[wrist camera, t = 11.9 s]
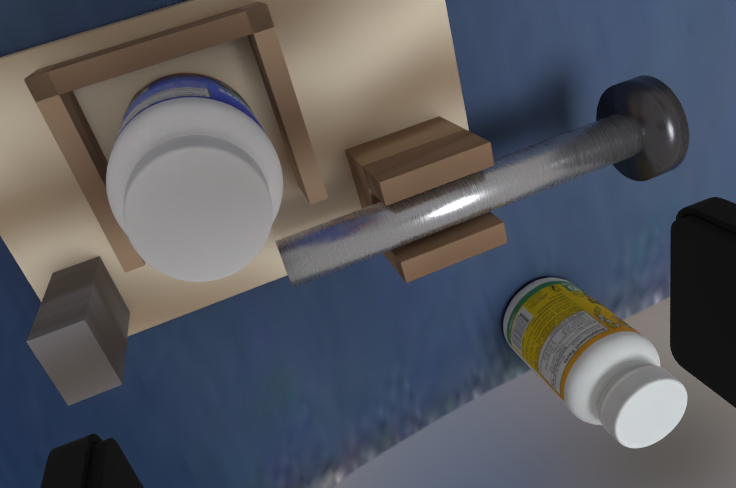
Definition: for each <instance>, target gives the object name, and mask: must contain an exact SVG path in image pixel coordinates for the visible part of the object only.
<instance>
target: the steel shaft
mask: <svg viewBox="0 0 736 488" xmlns="http://www.w3.org/2000/svg"><path fill="white" fill-rule="evenodd" d="M688 144H689V129H688V123H687V119H686V115H685V113H684V110H683V108H682V106H681V103H680V102H679V100H678V98H677V97H676V95H675V94H674V93H673V91H672V90H671V89H670V88H669V87H668V86H667V85H666V84H664V83H663V82H662V81H660V80H658V79H656V78H654V77H651V76H638V77H635V78H632V79H630V80H627V81H624V82H621V83H619V84H616V85H613V86H611V87H609V88H608V89H607V90H606V91H605V92H604V93H603V94H602V96H601V98H600V100H599V103H598V107H597V115H596V122H593V123H590V124H587V125H585V126H582V127H579V128H577V129H574V130H571V131H569V132H566V133H563V134H561V135H558V136H555V137H553V138H550V139H547V140H545V141H542V142H539V143H537V144H534V145H531V146H529V147H526V148H523V149H520V150H518V151H515V152H512V153H510V154H507V155H504V156H502V157H499V158H496V159H494V166H491V167H489V168H486V169H483V170H481V171H478V172H475V173H473V174H470V175H467V176H465V177H462V178H459V179H457V180H454V181H451V182H449V183H446V184H443V185H441V186H438V187H435V188H433V189H430V190H427V191H425V192H422V193H419V194H417V195H414V196H411V197H409V198H406V199H403V200H401V201H398V202H395V203H393V204H390V205H387V206H385V205H384V204H383V203H382V202H378V203H376V204H373V205H370V206H368V207H365V208H362V209H360V210H357V211H354V212H352V213H349V214H346V215H344V216H341V217H338V218H336V219H333V220H330V221H328V222H325V223H322V224H319V225H317V226H314V227H311V228H309V229H306V230H303V231H301V232H298V233H295V234H293V235H290V236H287V237H285V238H282V239H279V240H277V241H275V243H276V246H277V248H278V251H279V254H280V256H281V259H282V262H283V264H284V267H285V269H286V272H287V275H288V277H289V280H290V282H291V285H292V287H293V288H294V287H297V286H300V285H302V284H305V283H307V282H310V281H312V280H315V279H318V278H320V277H323V276H325V275H328V274H330V273H333V272H336V271H338V270H341V269H343V268H346V267H349V266H351V265H354V264H356V263H359V262H361V261H364V260H367V259H369V258H372V257H374V256H377V255H379V254H382V253H385V252H387V251H390V250H392V249H395V248H398V247H400V246H403V245H405V244H408V243H410V242H413V241H416V240H418V239H421V238H423V237H426V236H428V235H431V234H434V233H436V232H439V231H441V230H444V229H447V228H449V227H452V226H454V225H457V224H459V223H462V222H465V221H467V220H470V219H472V218H475V217H477V216H480V215H483V214H485V213H488V212H490V211H493V210H496V209H498V208H501V207H503V206H506V205H508V204H511V203H514V202H516V201H519V200H521V199H524V198H526V197H529V196H532V195H534V194H537V193H539V192H542V191H545V190H547V189H550V188H552V187H555V186H557V185H560V184H563V183H565V182H568V181H570V180H573V179H575V178H578V177H581V176H583V175H586V174H588V173H591V172H594V171H596V170H599V169H601V168H604V167H606V166H609V165H612V164H613V165H614V167H615V168H616V169H617V170H618V171H619V172H620V173H622V174H623V175H624V176H626V177H628V178H630V179H632V180H635V181H646V180H649V179H651V178H654V177H656V176H659V175H661V174H664V173H666V172H669V171H671V170H673V169H675V168H676V167H678V166H679V165H680V164H681V162H682V161H683V159H684V157H685V155H686V153H687V149H688Z"/></svg>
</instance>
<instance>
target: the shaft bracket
mask: <svg viewBox="0 0 736 488" xmlns="http://www.w3.org/2000/svg"><path fill="white" fill-rule="evenodd" d="M176 73H197V74H203V75H207V76H211V77H213V78H216V79H218V80H220V81H222V82H224V83H225V84H227V85H228V86H230V87H231V88H233V89H234V90H235V91H236V92H237V93H238V94H239V95H240V96H241V97H242V98H243V99H244V100H245V101H246V102H247V104H248V105H249V107H250V108H251V110H252V112H253V113H254V115H255V116H256V118H257V120H258V121H259V123H260V124H261V126H262V128H263V129H264V131H265V133H266V134H267V136H268V138H269V139H270V141H271V143H272V145H273V147H274V148H275V150H276V153H277V155H278V158H279V161H280V164H281V168H282V175H283V194H282V200H281V204H280V208H279V211H278V213H277V216H276V218H275V220H274V222H273V224H272V227H271V231H270V234H269V237H268V239H267V241H266V243H265V245H264V247H263V248H262V250H261V251H260V253H259V254H258V255H257V256H256V257H255V258H254V259H253V260H252V261H251V262H250V263H249V264H248V265H247V266H245V267H244V268H242V269H241V270H239V271H238V272H236V273H234V274H232V275H230V276H227V277H224V278H221V279H217V280H213V281H205V282H192V281H184V280H179V279H175V278H172V277H169V276H167V275H164V274H163V273H161V272H159V271H157V270H156V269H154V268H152V267H151V266H150V265H149V264H148V263H146V262H145V261H144V260H143V259H142V258H141V257H140V256H139V254H138V253H137V252H136V250H135V249H134V248H133V246H132V244H131V242H130V240H129V238H128V236H127V235H126V234H125V232H124V231H123V230H122V228H121V227H120V225H119V224H118V222H117V220H116V219H115V217H114V215H113V212H112V210H111V207H110V204H109V200H108V196H107V190H106V173H107V166H108V162H109V158H110V155H111V151H112V148H113V145H114V143H115V140H116V137H117V135H118V132H119V129H120V127H121V124H122V121H123V118H124V115H125V112H126V110H127V108H128V106H129V104H130V102H131V100H132V99H133V97H134V96H135V95H136V94H137V93H138V92H139V91H140V90H142V89H143V88H144V87H145V86H147V85H148V84H149V83H151V82H153V81H154V80H156V79H159V78H161V77H164V76H167V75H171V74H176ZM491 166H494V160H493V154H492V148H491V142H490V141H488V140H486V139H484V138H482V137H480V136H478V135H476V134H474V133H472V132H470V131H469V128H468V123H467V117H466V112H465V106H464V101H463V96H462V90H461V85H460V79H459V74H458V68H457V63H456V58H455V52H454V47H453V41H452V36H451V30H450V25H449V20H448V14H447V9H446V3H445V0H188V1H185V2H182V3H178V4H175V5H172V6H168V7H165V8H162V9H159V10H155V11H152V12H149V13H145V14H142V15H139V16H135V17H132V18H129V19H125V20H122V21H119V22H115V23H112V24H109V25H105V26H102V27H99V28H95V29H92V30H89V31H85V32H82V33H79V34H75V35H72V36H69V37H66V38H62V39H59V40H56V41H52V42H49V43H46V44H42V45H39V46H36V47H32V48H29V49H26V50H22V51H19V52H16V53H12V54H9V55H6V56H2V57H0V236H1V237H2V239H3V241H4V242H5V244H6V246H7V247H8V249H9V250H10V252H11V254H12V255H13V257H14V258H15V260H16V262H17V263H18V265H19V267H20V268H21V270H22V271H23V273H24V275H25V276H26V278H27V280H28V281H29V283H30V284H31V286H32V288H33V289H34V291H35V292H36V294H37V296H38V297H39V299H40V301H41V305H40V307H39V310H38V313H37V315H36V318H35V321H34V323H33V326H32V328H31V331H30V334H29V336H28V339H27V341H26V342H27V343H28V345H29V346H30V348H31V349H32V351H33V353H34V354H35V356H36V357H37V359H38V360H39V362H40V363H41V365H42V366H43V368H44V369H45V371H46V372H47V374H48V375H49V377H50V378H51V380H52V381H53V383H54V385H55V386H56V388H57V389H58V391H59V392H60V394H61V395H62V397H63V398H64V400H65V401H66V403H67V404H68V406H69V405H71V404H74V403H76V402H79V401H82V400H84V399H87V398H89V397H92V396H94V395H97V394H99V393H102V392H104V391H107V390H109V389H112V388H114V387H117V386H119V385H122V384H123V374H124V365H125V355H126V346H127V336H130V335H132V334H135V333H138V332H140V331H143V330H145V329H148V328H151V327H153V326H156V325H158V324H161V323H164V322H166V321H169V320H172V319H174V318H177V317H179V316H182V315H185V314H187V313H190V312H192V311H195V310H198V309H200V308H203V307H205V306H208V305H211V304H213V303H216V302H218V301H221V300H224V299H226V298H229V297H231V296H234V295H237V294H239V293H242V292H245V291H247V290H250V289H252V288H255V287H258V286H260V285H263V284H265V283H268V282H271V281H273V280H276V279H278V278H281V277H284V276H286V275H287V272H286V269H285V267H284V264H283V262H282V259H281V256H280V254H279V251H278V248H277V246H276V243H275V241H277V240H279V239H282V238H285V237H287V236H290V235H293V234H295V233H298V232H301V231H303V230H306V229H309V228H311V227H314V226H317V225H319V224H322V223H325V222H328V221H330V220H333V219H336V218H338V217H341V216H344V215H346V214H349V213H352V212H354V211H357V210H360V209H362V208H365V207H368V206H370V205H373V204H376V203H378V202H382V203H383V204H384V205H385V206H387V205H390V204H393V203H395V202H398V201H401V200H403V199H406V198H409V197H411V196H414V195H417V194H419V193H422V192H425V191H427V190H430V189H433V188H435V187H438V186H441V185H443V184H446V183H449V182H451V181H454V180H457V179H459V178H462V177H465V176H467V175H470V174H473V173H475V172H478V171H481V170H483V169H486V168H489V167H491ZM505 243H507V237H506V231H505V226H504V222H503V221H502V220H500V219H499V218H497V217H496V216H495V215H493V214H492V213H490V212H488V213H485V214H483V215H480V216H477V217H475V218H472V219H470V220H467V221H465V222H462V223H459V224H457V225H454V226H452V227H449V228H447V229H444V230H441V231H439V232H436V233H434V234H431V235H428V236H426V237H423V238H421V239H418V240H416V241H413V242H410V243H408V244H405V245H403V246H400V247H398V248H395V249H392V250H390V251H387V252H385V253H383V254H384V255H385V257H386V258H387V259H388V260H389V262H390V263H391V264H392V265H393V267H394V268H395V269H396V271H397V272H398V273H399V274H400V276H401V277H402V278H403V279H404V281H405V282H406V283H408V282H410V281H413V280H415V279H418V278H420V277H423V276H425V275H428V274H430V273H433V272H435V271H438V270H440V269H443V268H445V267H448V266H450V265H453V264H455V263H458V262H460V261H463V260H465V259H468V258H470V257H473V256H475V255H478V254H480V253H483V252H485V251H488V250H490V249H493V248H495V247H498V246H500V245H503V244H505Z"/></svg>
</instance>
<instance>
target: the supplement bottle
mask: <svg viewBox="0 0 736 488" xmlns="http://www.w3.org/2000/svg"><path fill="white" fill-rule="evenodd" d="M503 331H504V336H505V338H506V341H507V343H508V344H509V346H510V347H511V348H512V349H513V350H514V351H515V352H516V354H517V355H518V356H519V357H520V358H521V359H522V360H523V361H524V362H525V363H526V364H527V365H528V366H529V367H530V368H531V369H532V370H533V371H534V372H535V374H536V375H537V376H538V377H539V378H540V379H541V380H542V381H543V382H544V383H545V384H546V385H547V386H548V387H549V389H551V391H552V392H553V393H554V394H555V395H556V396H557V397H558V398H559V399H560V400H561V402H562V403H563V404H564V405H565V406H566V407H567V408H568V409H569V410H570V411H571V412H572V413H573V414H574V415H575V416H576V417H578V418H579V419H581V420H583V421H585V422H587V423H591V424H597V425H603V427H604V429H605V430H607V431H608V432H609V433H610V434H611V435H612V436H613V437H614V438H615V439H616V440H617V441H618V442H620V443H621V444H622V445H624V446H626V447H629V448H642V447H646V446H649V445H651V444H654V443H655V442H657V441H659V440H661V439H662V438H664V437H665V436H666V435H667V434H668V433H669V432H671V431H672V430H673V428H674V427H675V426H676V425H677V424H678V422H679V421H680V420H681V418H682V416H683V414H684V412H685V409H686V406H687V392H686V389H685V388H684V386H683V385H682V384H681V382H679V381H678V380H677V379H676V378H675V377H673V376H672V375H671V374H670V373H669V372H668V371H667V370H665V369H664V368H662V367H660V359H659V356H658V353H657V351H656V349H655V348H654V346H653V345H652V343H651V342H650V341H649V340H648V339H646V338H645V337H644V336H642V335H641V334H640V333H639V332H637V331H636V330H635V329H633V328H632V327H630V326H629V325H628V324H627V323H625V322H624V321H622V320H621V319H620V318H619V317H617V316H616V315H614V314H613V313H612V312H611V311H609V310H608V309H607V308H605V307H604V306H603V305H601V304H600V303H598V302H597V301H596V300H594V299H593V298H592V297H590V296H589V295H588V294H586V293H585V292H584V291H582V290H581V289H580V288H579V287H577V286H576V285H574V284H573V283H571V282H569V281H567V280H564V279H560V278H553V277H549V278H543V279H539V280H536V281H534V282H532V283H530V284H529V285H527V286H526V287H524V288H523V289H522V290H521V291H519V292H518V293H517V294H516V295H515V297H514V298H513V299H512V301H511V302H510V304H509V306H508V308H507V310H506V313H505V316H504V320H503Z"/></svg>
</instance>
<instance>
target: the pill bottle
mask: <svg viewBox="0 0 736 488" xmlns="http://www.w3.org/2000/svg"><path fill="white" fill-rule="evenodd" d="M106 190H107V196H108V200H109V204H110V207H111V210H112V212H113V215H114V217H115V219H116V220H117V222H118V224H119V225H120V227H121V228H122V230H123V231H124V232H125V234H126V235H127V236H128V238H129V240H130V242H131V244H132V246H133V248H134V249H135V250H136V252H137V253H138V254H139V256H140V257H141V258H142V259H143V260H144V261H145V262H146V263H148V264H149V265H150V266H151V267H152V268H154V269H156V270H157V271H159V272H161V273H163V274H164V275H167V276H169V277H172V278H175V279H179V280H184V281H192V282H205V281H213V280H217V279H221V278H224V277H227V276H230V275H232V274H234V273H236V272H238V271H239V270H241V269H242V268H244V267H245V266H247V265H248V264H249V263H250V262H251V261H252V260H253V259H254V258H255V257H256V256H257V255H258V254H259V253H260V251H261V250H262V248H263V247H264V245H265V243H266V241H267V239H268V237H269V234H270V231H271V227H272V224H273V222H274V220H275V218H276V216H277V213H278V211H279V208H280V204H281V200H282V194H283V175H282V168H281V164H280V161H279V158H278V155H277V153H276V150H275V148H274V147H273V145H272V143H271V141H270V139H269V138H268V136H267V134H266V133H265V131H264V129H263V128H262V126H261V124H260V123H259V121H258V120H257V118H256V116H255V115H254V113H253V112H252V110H251V108H250V107H249V105H248V104H247V102H246V101H245V100H244V99H243V98H242V97H241V96H240V95H239V94H238V93H237V92H236V91H235V90H234V89H233V88H231V87H230V86H228V85H227V84H225V83H224V82H222V81H220V80H218V79H216V78H213V77H211V76H207V75H203V74H197V73H176V74H171V75H167V76H164V77H161V78H159V79H156V80H154V81H153V82H151V83H149V84H148V85H147V86H145V87H144V88H143V89H142V90H140V91H139V92H138V93H137V94H136V95H135V96H134V97H133V99H132V100H131V102H130V104H129V106H128V108H127V110H126V112H125V115H124V118H123V121H122V124H121V127H120V129H119V132H118V135H117V137H116V140H115V143H114V145H113V148H112V151H111V155H110V158H109V162H108V166H107V173H106Z"/></svg>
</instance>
